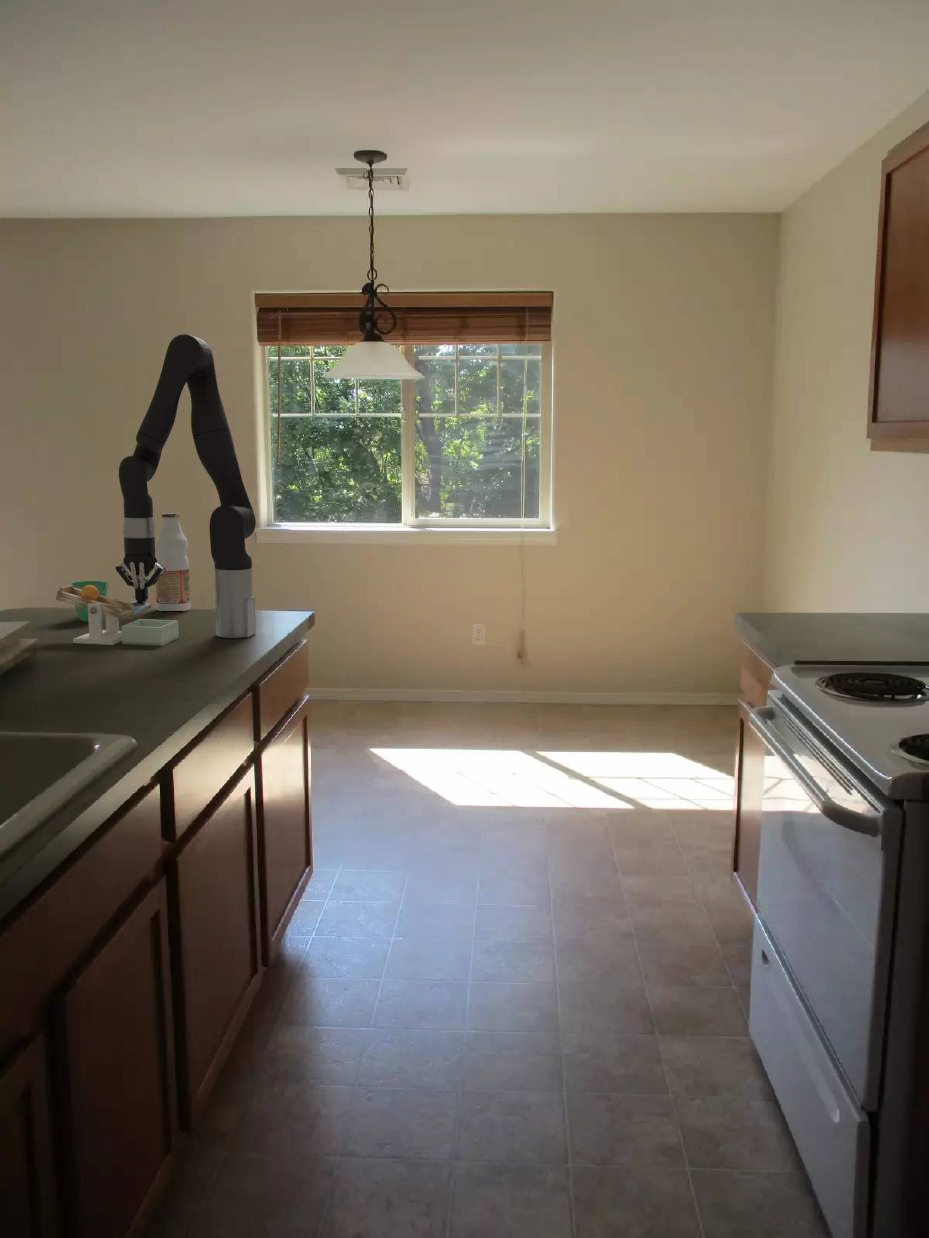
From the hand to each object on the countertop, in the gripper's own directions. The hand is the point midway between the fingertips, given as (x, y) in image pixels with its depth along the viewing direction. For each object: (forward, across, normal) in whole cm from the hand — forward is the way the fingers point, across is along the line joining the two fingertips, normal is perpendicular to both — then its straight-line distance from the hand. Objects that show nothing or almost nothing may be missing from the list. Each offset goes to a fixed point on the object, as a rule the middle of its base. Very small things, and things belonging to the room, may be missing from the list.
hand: (141, 602), depth 258 cm
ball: (-4, +8, +12) cm, 15 cm away
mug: (+8, +22, -14) cm, 27 cm away
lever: (0, +7, +7) cm, 9 cm away
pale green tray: (+8, -8, +12) cm, 16 cm away
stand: (+8, +4, +12) cm, 15 cm away
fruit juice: (+8, +6, -32) cm, 34 cm away
